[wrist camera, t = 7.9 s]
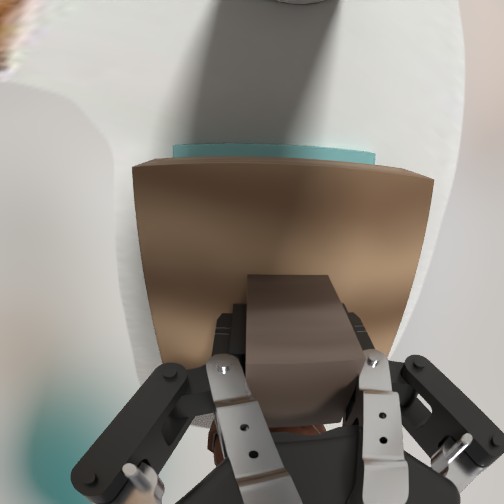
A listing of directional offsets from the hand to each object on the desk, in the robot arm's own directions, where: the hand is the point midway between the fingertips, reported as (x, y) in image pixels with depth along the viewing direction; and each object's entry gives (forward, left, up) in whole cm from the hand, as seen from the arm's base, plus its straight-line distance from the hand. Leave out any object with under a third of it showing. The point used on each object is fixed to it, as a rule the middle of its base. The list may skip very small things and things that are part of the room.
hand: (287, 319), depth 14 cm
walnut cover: (0, 0, -5) cm, 5 cm away
